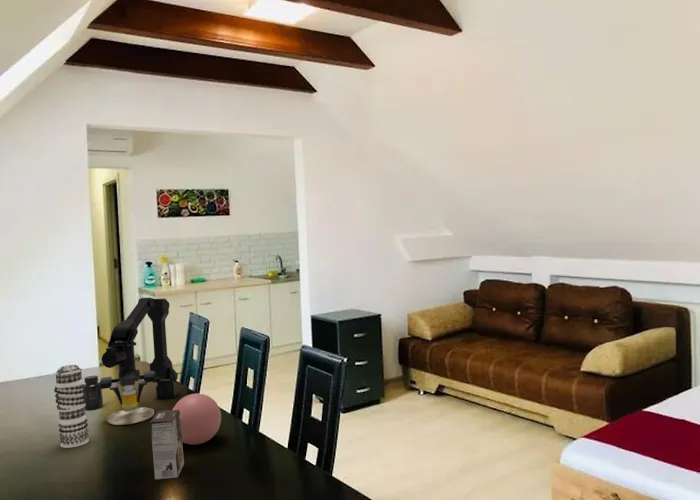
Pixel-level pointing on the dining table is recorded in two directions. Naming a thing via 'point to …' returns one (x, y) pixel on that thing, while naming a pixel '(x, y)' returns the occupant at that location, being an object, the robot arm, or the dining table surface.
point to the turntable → (130, 416)
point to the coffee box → (167, 444)
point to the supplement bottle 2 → (129, 398)
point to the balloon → (198, 418)
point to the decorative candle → (71, 406)
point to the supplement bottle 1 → (92, 393)
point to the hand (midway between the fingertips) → (130, 403)
